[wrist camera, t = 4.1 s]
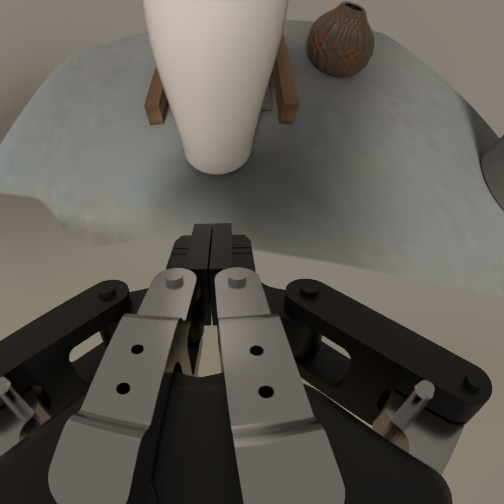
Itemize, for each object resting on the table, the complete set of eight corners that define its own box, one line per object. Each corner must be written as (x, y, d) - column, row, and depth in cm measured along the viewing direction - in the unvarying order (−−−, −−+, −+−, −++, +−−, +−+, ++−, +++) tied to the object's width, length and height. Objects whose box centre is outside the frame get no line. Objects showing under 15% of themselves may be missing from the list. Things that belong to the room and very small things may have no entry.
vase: (369, 88, 26) (399, 30, 18) (312, 83, 25) (334, 15, 17) (348, 53, 28) (369, 0, 20) (295, 48, 27) (309, -12, 19)
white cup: (173, 189, 21) (120, 1, 6) (177, 122, 23) (153, -39, 8) (264, 184, 21) (310, -6, 7) (256, 118, 23) (280, -43, 9)
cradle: (277, 40, 27) (280, 24, 25) (292, 123, 23) (298, 104, 21) (173, 41, 26) (171, 25, 24) (150, 125, 22) (144, 105, 20)
